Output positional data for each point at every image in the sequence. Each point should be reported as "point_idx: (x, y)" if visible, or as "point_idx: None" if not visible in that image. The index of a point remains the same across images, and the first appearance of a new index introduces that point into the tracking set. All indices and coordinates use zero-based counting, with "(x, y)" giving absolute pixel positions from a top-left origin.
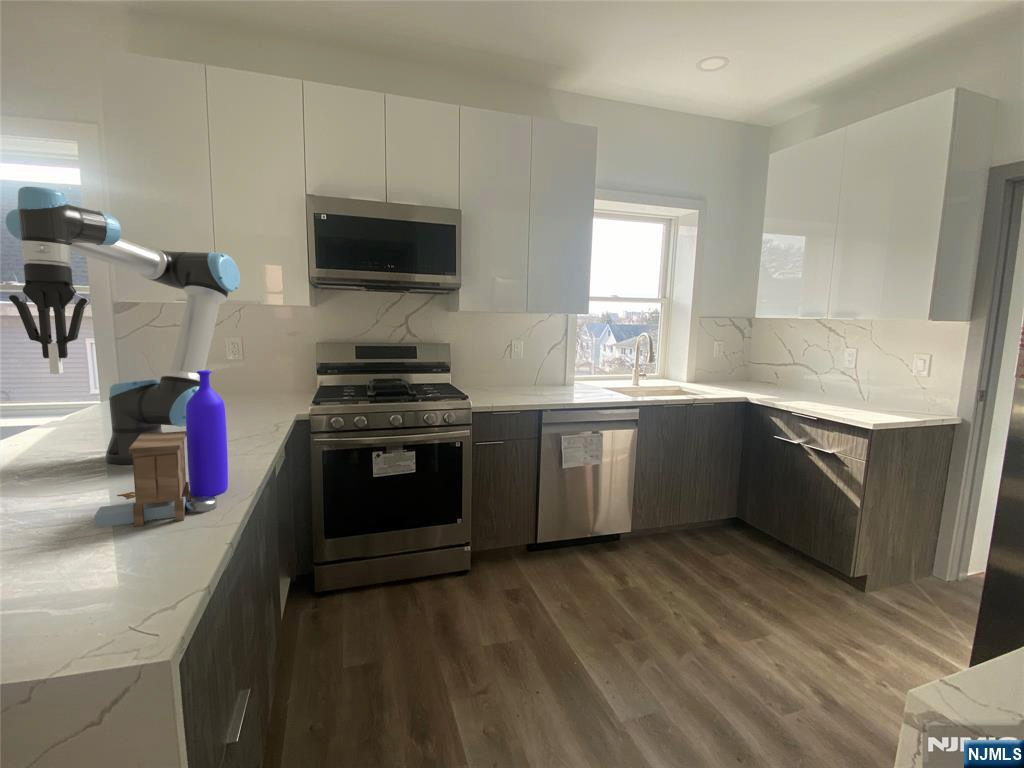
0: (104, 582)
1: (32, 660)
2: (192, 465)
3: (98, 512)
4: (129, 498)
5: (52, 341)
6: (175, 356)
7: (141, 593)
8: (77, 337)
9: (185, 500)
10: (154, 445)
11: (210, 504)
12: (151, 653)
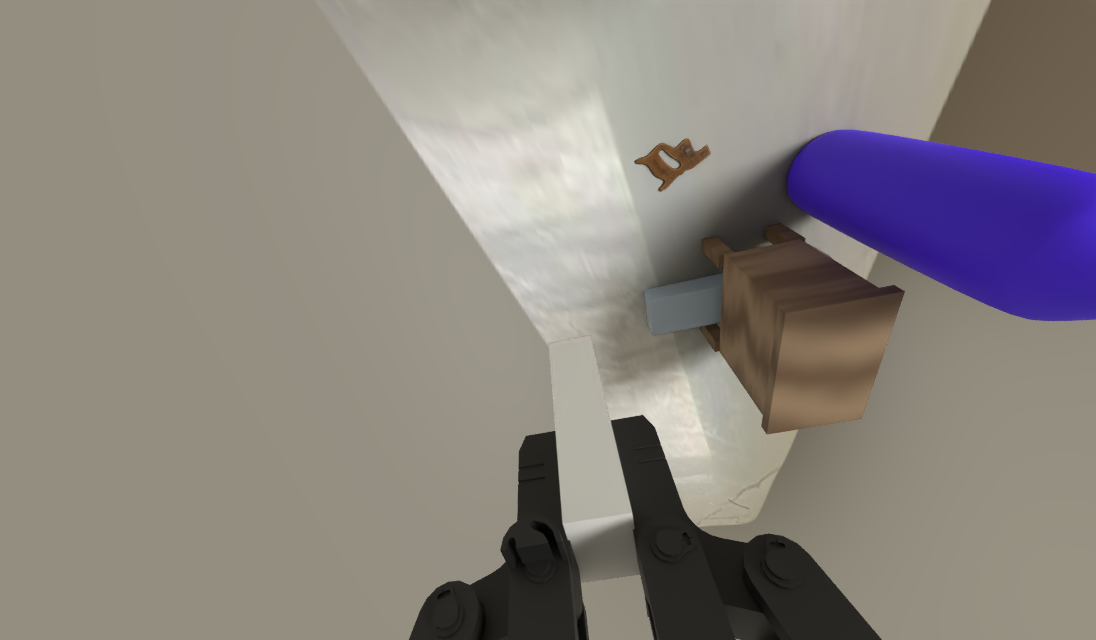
0: (697, 449)
1: None
2: (839, 229)
3: (654, 325)
4: (665, 188)
5: (555, 525)
6: None
7: (731, 467)
8: (817, 566)
9: None
10: (814, 417)
11: None
12: (745, 520)
